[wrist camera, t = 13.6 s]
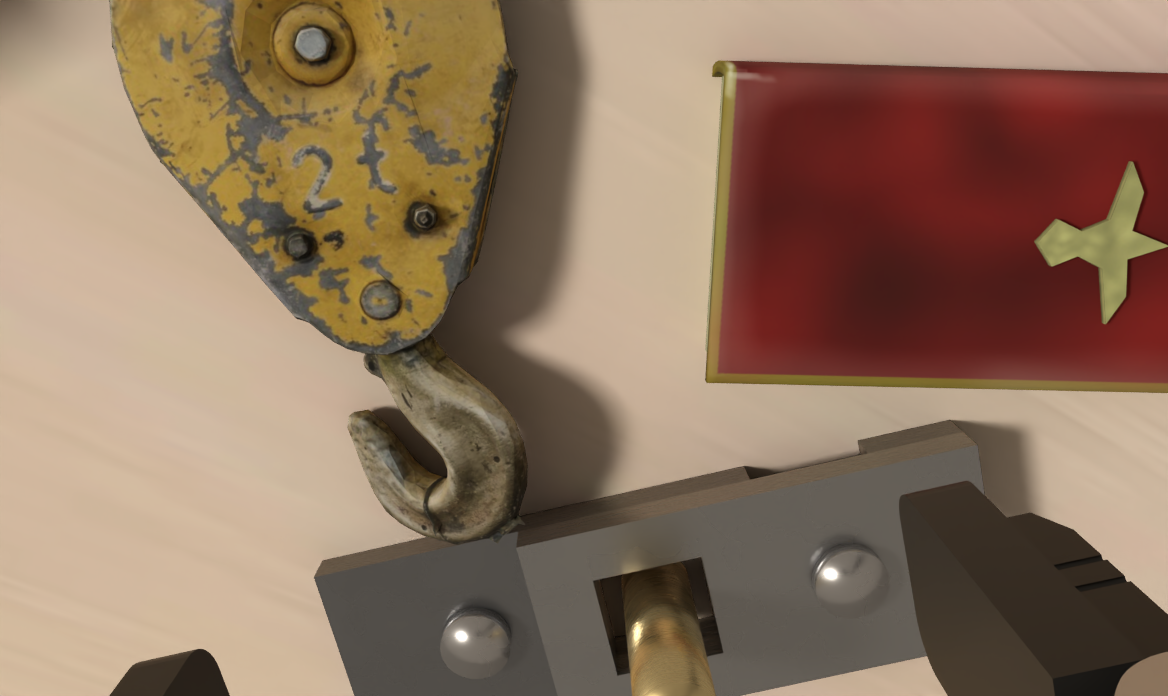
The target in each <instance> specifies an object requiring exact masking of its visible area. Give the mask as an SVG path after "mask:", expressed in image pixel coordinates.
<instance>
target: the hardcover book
mask: <svg viewBox="0 0 1168 696" xmlns="http://www.w3.org/2000/svg"><path fill="white" fill-rule="evenodd" d="M712 77H722V90H721V106H720V122H719V139H718V155H717V171H716V188H715V204H714V220H713V237H712V253H711V269H710V286H709V302H708V318H707V334H706V351H707V362H706V378H705V380H706V382H707V383H743V384H788V385H833V386H878V387H923V388H968V389H1013V390H1058V391H1103V392H1148V393H1168V73H1134V72H1099V71H1064V70H1029V69H994V68H959V67H924V66H889V65H854V64H819V63H784V62H749V61H717V62H716V63H715V64H714V65H713V73H712Z"/></svg>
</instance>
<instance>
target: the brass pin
mask: <svg viewBox="0 0 1168 696" xmlns="http://www.w3.org/2000/svg"><path fill="white" fill-rule="evenodd" d="M621 586H622V596H623V606H624V616H625V627H626V637H627V647H628V657H629V668H630V678H631V688H632V696H716V694H715V689H714V685H713V681H712V677H711V672H710V668H709V664H708V659H707V655H706V651H705V647H704V642H703V638H702V634H701V629H700V625H699V621H698V617H697V612H696V608H695V604H694V599H693V595H692V591H691V586H690V582H689V578H688V574H687V571H686V568H685V566H684V565H683V563H682V562H681V561H680V562H676V563H671V564H667V565H662V566H658V567H653V568H649V569H644V570H640V571H635V572H631V573H626V574H622V579H621Z"/></svg>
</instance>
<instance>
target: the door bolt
mask: <svg viewBox="0 0 1168 696" xmlns="http://www.w3.org/2000/svg"><path fill="white" fill-rule="evenodd" d="M858 445H859V450H860V455H858V456H854V457H849V458H845V459H840V460H836V461H831V462H827V463H822V464H818V465H813V466H809V467H804V468H800V469H796V470H791V471H787V472H782V473H778V474H773V475H769V476H764V477H760V478H755V479H751V480H750V479H749V477H748V474H747V472H746V470H745V468H744V466H743V467H738V468H734V469H729V470H725V471H720V472H716V473H711V474H707V475H702V476H698V477H694V478H689V479H685V480H680V481H676V482H671V483H667V484H662V485H658V486H653V487H649V488H645V489H640V490H636V491H631V492H627V493H622V494H618V495H613V496H609V497H604V498H600V499H596V500H591V501H587V502H582V503H578V504H573V505H569V506H564V507H560V508H555V509H551V510H547V511H542V512H538V513H533V514H529V515H524V516H520V518H521V520H522V521H523V522H524V523H525V524H526V525H522V524H518V525H517V526H516V527H515V528H513V529H512V530H511V531H510V532H509V533H507V534H505V535H504V536H502V538H501V539H500V541H499V543H498V544H497V543H495V542H493V541H492V540H490V539H482V540H474V541H466V542H461V543H459V544H458V545H457V544H452V543H448V542H445V541H441V540H440V542H439V540H438V539H434V538H430V537H426V538H422V539H417V540H413V541H408V542H404V543H400V544H395V545H391V546H386V547H382V548H377V549H373V550H368V551H364V552H359V553H355V554H351V555H346V556H342V557H337V558H333V559H328V560H324V561H322V563H321V565H320V567H319V568H318V570H317V572H316V574H315V576H314V579H315V582H316V585H317V588H318V590H319V593H320V596H321V599H322V602H323V605H324V608H325V611H326V614H327V617H328V620H329V623H330V625H331V628H332V631H333V634H334V637H335V640H336V643H337V646H338V649H339V652H340V655H341V658H342V661H343V663H344V666H345V669H346V672H347V675H348V678H349V681H350V684H351V687H352V690H353V693H354V696H632V688H631V678H630V668H629V657H628V647H627V637H626V635H624V636H619V637H614V633H613V630H612V626H611V622H610V618H609V614H608V610H607V606H606V602H605V599H604V595H603V591H602V587H601V583H600V579H603V578H608V577H612V576H617V575H621V574H626V573H631V572H635V571H640V570H644V569H649V568H653V567H658V566H662V565H667V564H671V563H676V562H680V561H685V560H690V559H694V558H699V557H701V562H702V566H703V571H704V575H705V579H706V584H707V588H708V593H709V597H710V602H711V606H712V610H713V615H714V616H711V617H707V618H702V619H698V621H699V625H700V629H701V634H702V638H703V642H704V647H705V651H706V655H707V659H708V664H709V668H710V672H711V677H712V681H713V685H714V689H715V694H716V696H741V695H746V694H751V693H755V692H760V691H765V690H769V689H774V688H779V687H783V686H788V685H793V684H798V683H802V682H807V681H812V680H816V679H821V678H826V677H830V676H835V675H840V674H844V673H849V672H854V671H859V670H863V669H868V668H873V667H877V666H882V665H887V664H891V663H896V662H901V661H905V660H910V659H915V658H920V657H924V656H927V654H926V651H925V648H924V645H923V642H922V639H921V635H920V631H919V627H918V623H917V617H916V612H915V606H914V600H913V594H912V588H911V582H910V576H909V570H908V564H907V558H906V552H905V546H904V540H903V534H902V528H901V522H900V515H899V499H900V496H901V495H904V494H908V493H913V492H917V491H922V490H926V489H931V488H935V487H940V486H944V485H949V484H953V483H958V482H962V481H970V482H971V483H972V484H974V485H975V486H976V487H977V488H978V489H979V490H980V491H981V492H982V493H983V494H984V487H983V480H982V473H981V466H980V459H979V452H978V445H977V444H976V443H975V442H974V441H973V440H972V439H970V438H969V437H968V436H967V435H966V434H965V433H964V432H963V431H962V430H960V429H959V428H958V427H957V426H956V425H955V424H954V423H953V422H952V421H951V420H947V421H943V422H938V423H934V424H930V425H925V426H921V427H916V428H912V429H907V430H903V431H898V432H894V433H890V434H885V435H881V436H876V437H872V438H867V439H863V440H858ZM984 495H985V494H984Z"/></svg>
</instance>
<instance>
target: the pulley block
mask: <svg viewBox="0 0 1168 696" xmlns="http://www.w3.org/2000/svg"><path fill="white" fill-rule="evenodd" d="M109 2H110V17H111V32H112V47H113V49H114V52H115V56H116V59H117V63H118V67H119V71H120V74H121V78H122V82H123V86H124V89H125V91H126V94H127V96H128V98H129V101H130V103H131V105H132V108H133V110H134V112H135V115H136V117H137V119H138V122H139V124H140V126H141V128H142V131H143V133H144V135H145V138H146V139H147V141H148V143H149V145H150V147H151V149H152V150H153V152H154V153H155V154H156V156H157V157H158V158H159V159H160V162H161V163H162V164H163V165H164V166H165V167H166V168H167V169H168V171H169V172H170V173H171V174H172V175H173V176H174V177H175V179H176V180H177V181H178V182H179V183H180V184H181V186H182V187H183V188H184V189H185V190H186V191H187V192H188V194H189V195H190V196H191V197H192V198H193V199H194V201H195V202H196V203H197V204H198V205H199V206H200V208H201V209H202V210H203V211H204V212H205V213H206V214H207V216H208V217H209V218H210V219H211V220H212V221H213V223H214V224H215V225H216V226H217V227H218V229H219V230H220V231H221V232H222V233H223V235H224V236H225V237H226V238H227V239H228V240H229V241H230V243H231V244H232V245H233V246H234V247H235V249H236V250H237V251H238V252H239V253H240V254H241V256H242V257H243V258H244V259H245V260H246V262H247V263H248V264H249V265H250V266H251V267H252V269H253V270H254V271H255V272H256V273H257V275H258V276H259V277H260V278H261V279H262V281H263V282H264V283H265V284H266V285H267V286H268V287H269V288H270V290H271V291H272V292H273V293H274V294H275V295H276V296H277V298H278V299H279V300H280V301H281V302H282V303H283V304H284V305H285V307H286V308H287V309H288V310H289V311H290V312H291V313H292V314H293V316H294V317H295V318H296V319H300V320H303V321H306V322H309V323H310V324H311V325H313V326H314V327H315V328H316V329H318V330H319V331H320V332H321V333H322V334H324V335H325V336H326V337H328V338H329V339H331V340H332V341H333V342H335V343H337V344H339V345H341V346H343V347H345V348H347V349H349V350H353V351H357V352H361V353H365V356H364V365H365V368H366V369H367V370H368V371H369V372H370V373H371V374H373V375H376V376H378V377H380V378H382V379H383V381H384V382H385V383H386V385H387V386H388V388H389V390H390V392H391V394H392V396H393V398H394V400H395V402H396V404H397V406H398V407H399V409H400V410H401V411H402V413H403V414H404V415H405V417H406V418H407V419H408V421H409V422H410V423H411V425H412V426H413V427H414V429H415V430H416V431H417V432H418V433H419V434H420V435H421V436H422V437H423V438H424V439H425V440H426V441H427V442H428V443H429V444H430V445H431V446H432V447H433V448H434V449H435V450H436V451H437V452H438V453H439V454H440V455H441V457H442V458H443V460H444V462H445V464H446V467H447V470H448V477H441V476H439V475H436V474H433V473H430V472H428V471H427V470H426V469H425V468H423V467H422V466H421V465H420V464H419V463H418V462H417V461H416V460H415V459H414V458H413V457H412V456H411V455H410V453H409V452H408V451H407V449H406V448H405V446H404V445H403V444H402V443H401V441H400V440H399V439H398V438H397V437H396V435H395V434H394V433H393V431H392V430H391V429H390V427H388V426H387V425H386V424H385V423H384V422H383V420H381V419H380V418H378V417H376V416H375V415H374V414H373V412H371V411H369V410H364V411H358V412H354V413H352V414H351V415H350V416H349V421H348V430H349V433H350V435H351V437H352V440H353V442H354V445H355V448H356V451H357V453H358V456H359V459H360V461H361V464H362V467H363V469H364V472H365V474H366V476H367V478H368V480H369V482H370V485H371V487H372V489H373V491H374V493H375V495H376V497H377V498H378V500H379V501H380V502H381V504H382V505H383V507H384V508H385V510H386V511H387V512H388V513H389V514H390V515H391V516H392V517H394V518H395V519H396V520H397V521H398V522H399V523H401V524H403V525H404V526H406V527H408V528H410V529H412V530H414V531H416V532H418V533H420V534H421V535H423V536H427V537H430V538H434V539H438V540H439V542H440V540H441V541H445V542H448V543H452V544H457V545H458V544H459V543H461V542H466V541H474V540H482V539H490V540H492V541H493V542H495V543H497V544H498V543H499V541H500V539H501V538H502V536H504V535H505V534H507V533H509V532H510V531H511V530H512V529H513V528H515V527H516V526H517V525H518V524H522V525H526V524H525V523H524V522H523V521H522V520H521V518H520V516H519V509H520V506H521V502H522V499H523V496H524V493H525V490H526V486H527V468H528V465H527V459H526V453H525V448H524V442H523V440H522V437H521V435H520V432H519V430H518V427H517V425H516V423H515V421H514V419H513V418H512V416H511V415H510V413H509V412H508V410H507V409H506V408H505V407H504V405H503V404H502V403H501V402H500V401H499V400H498V399H497V398H496V396H495V395H494V394H493V393H492V392H491V391H490V390H489V389H488V388H486V387H485V386H484V385H482V384H481V383H480V382H479V381H477V380H476V379H475V378H474V377H472V376H471V375H470V374H468V373H467V372H466V371H465V370H463V369H462V368H461V367H460V366H458V365H457V364H456V363H454V362H453V361H452V360H451V359H450V358H449V357H448V356H447V355H446V354H445V352H444V351H443V350H442V348H441V347H440V346H439V344H438V343H437V342H436V340H435V339H434V338H433V336H432V335H431V333H430V332H431V331H432V330H433V329H434V328H435V327H436V326H437V325H438V324H439V322H440V321H441V319H442V317H443V315H444V313H445V311H446V309H447V307H448V305H449V302H450V300H451V298H452V296H453V294H454V292H455V290H456V288H457V286H458V285H459V284H460V283H462V282H463V281H464V280H465V279H467V278H468V277H469V275H470V273H471V270H472V268H473V267H474V266H475V264H476V263H477V262H478V258H479V254H480V250H481V246H482V241H483V237H484V233H485V228H486V224H487V219H488V215H489V210H490V206H491V201H492V196H493V192H494V187H495V182H496V177H497V172H498V167H499V162H500V157H501V152H502V146H503V141H504V136H505V131H506V126H507V121H508V116H509V111H510V106H511V101H512V95H513V91H514V87H515V83H516V79H517V75H518V70H516V69H514V68H513V65H512V62H511V59H510V56H509V53H508V46H507V39H506V33H505V26H504V20H503V15H502V10H501V5H500V0H109Z"/></svg>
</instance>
